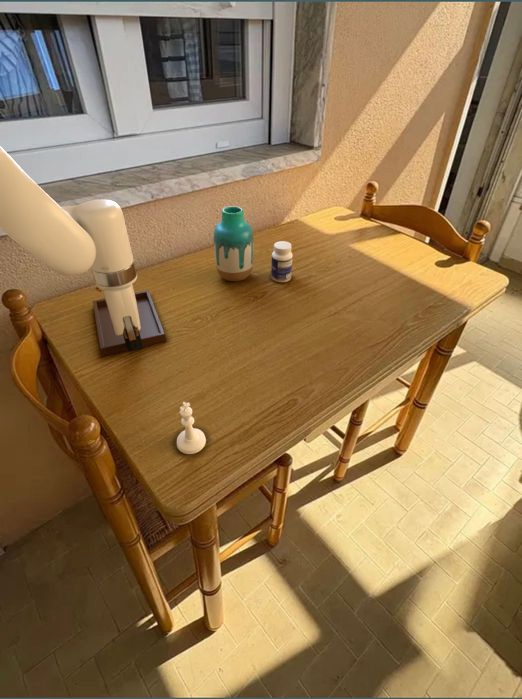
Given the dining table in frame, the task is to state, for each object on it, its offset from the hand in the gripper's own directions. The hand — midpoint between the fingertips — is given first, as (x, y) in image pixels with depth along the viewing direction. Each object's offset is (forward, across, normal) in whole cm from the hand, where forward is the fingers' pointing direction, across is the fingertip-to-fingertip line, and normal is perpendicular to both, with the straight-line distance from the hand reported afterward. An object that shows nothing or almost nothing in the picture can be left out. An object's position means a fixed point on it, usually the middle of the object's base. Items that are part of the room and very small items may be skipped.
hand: (135, 348), depth 81 cm
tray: (+1, -11, 0) cm, 11 cm away
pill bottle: (+2, -17, +43) cm, 46 cm away
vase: (+2, -22, +30) cm, 38 cm away
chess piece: (+2, +27, +5) cm, 28 cm away
